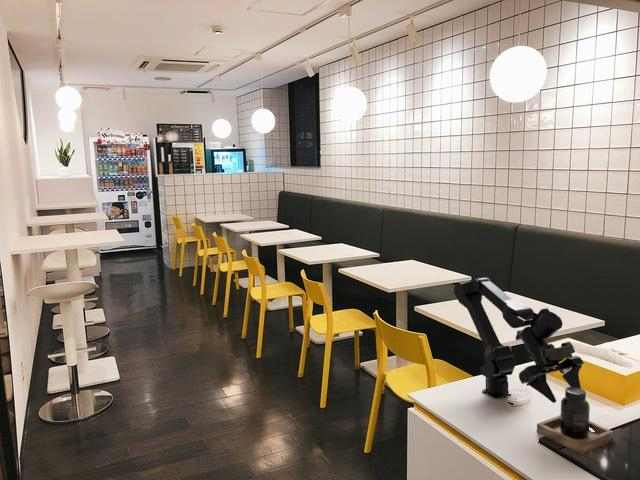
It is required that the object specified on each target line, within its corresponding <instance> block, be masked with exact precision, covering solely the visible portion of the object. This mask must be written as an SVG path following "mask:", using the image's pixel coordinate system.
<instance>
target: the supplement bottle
mask: <svg viewBox="0 0 640 480" xmlns="http://www.w3.org/2000/svg"><path fill="white" fill-rule="evenodd" d="M586 394H587V392H586V391H585V389H583V388H582V387H581V388H578V387H570V386H568V387H566V388H565V394H564V397H563V398H561V401H560V415H561V418H560V430H561V432H562V433H563V434H564V435H566V436H568V437H570V438H574V439H583V438H586V437H587V436H588V434H589V421H590V404H589V402H588V401H587V400H586V399H587V396H586Z"/></svg>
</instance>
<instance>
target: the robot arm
mask: <svg viewBox="0 0 640 480" xmlns="http://www.w3.org/2000/svg"><path fill="white" fill-rule="evenodd" d="M453 287H454V288H453V294H454V295H455V298H456V300H457V301H458V302H459V304H461V305H462V306H463V307H464V308H466V310H467V311H468V313H469V316H470V318H471V321H472V322H473V324H474V326H475V329H476V331H477V333H478V335H479V338H480V340H481V342H482V345H483V346H484V357H483V359H484V362H485V363H484V364H482V365H481V366H480V368H479V370H480V375H482V376H484V377H485V388H484V389H481V391H483V390H484V392H486V393H488V394H489V395H488V394H487V395H488V396H490V395H491V396H490V397H492V396H493V398H494V397H495V398H494V399H500V397H501V398H503V396H504V397H506V396H505V395H507V394H508V393H509V392H510V391H509V382H508V379H509V378H508V376H512V375H513V373H514V371H515V370H514V369H515V367H516V364H517V363H516V360H515V358H516V356H515V355H514V353H513V351H512V349H511V347H510V345H504V344H502V343H501V341H500V338H498V336H497V333H496V332H495V331H496V330H495V329H494V327H493V325H492V323H491V320H490V319H489V317H488V314H487V312H486V310H485V307H484V306H483V304H482V303H483V302H482V301H483V297H484V298H486V299H487V300H488V301H489V302H490V303H491V304H493V305H494V306H495V307H496V308H497V309H498V310H499V311H500V312H501V314H502V318H503V320H504V321H505V322H506V323H507V325H508V326H509V327H510V328H512V329H518V328H523V329H521V330H516V335H515V341H522V342H523V344H524V346H525V348H526V350H527V352H528V353H529V354H527V358H528V359H529V360H531V359H532V360H533V362H534V363H535V364H533V365H528V366H526V367H525V368H524V369H522V370H521V371H520V372H519V373H518V379H519V381H520V383H521V384H522V385H523V384H524V385H525V384H526V386H527V387H531V388H532V389H534V390H536V391H537V392H538V393H540V394H541V395H542V396H544V397H545V398H546V399H548V400H549V401H550V402H551V403H553V404H555V403H557V399H556V397H555V394H554V393H553V391H552V389H551V387H550V385H549V384H548V381H547V374H552V373H556V372H559V373H561V374H563V375H562V376H561V377H562V378H563V379H564V381H565V383H567V384H568V385H569V387H578V388H581V389H582V387H581V381H580V376H579V375H580V374H579V373H580V370H581V369H582V366H583V365H584V364H585V363H584V361H583V359H582V358H581V357H580V356H578V355H573V354H575V352H576V350H575V349H576V348H575V347H574V346H573V344H572V343H571V341H566V342H562V343H561V344H560V346H559V347H555V345H554V344H552V343H548V341H547V339H550V338H551V337H552V336H553V335H554V334H556V333H557V332H558V331H559V330H560V329H562V328H563V320H562V318H561V317H560V316H558V314H557V313H555V312H552V311H550V310H549V308H547V307H545V308H541V309H540V310H539V312H536V311H534V310H533V309H532V308H531V306H528V305H527V304H525V303H522V302H519V301H516V300H514V299H512V298H511V297H510V296H509V295H507V294H506V293H505V291H503V290H502V289H500V288H499V287H498V286H497V285H495V284H494V282H492V280H491V279H490V278H489V277H481V278H480V277H479V278H475V279H473V280H469V281H468V280H467V281H461V282H460V281H459V282H457V283H455V285H454V286H453ZM484 392H483V393H484ZM486 393H485V394H486ZM507 396H508V395H507Z"/></svg>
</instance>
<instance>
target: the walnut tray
mask: <svg viewBox="0 0 640 480" xmlns="http://www.w3.org/2000/svg"><path fill="white" fill-rule="evenodd" d="M560 418H561V414H560V415H557V416H554V417H551V418H549V419H547V420H544V421H540V422H538V423H536V433H537V434H539V435H541V436H543V437H545V436H548V437H549V438H552V439H553V440H555V441H557V442H559V443H560V444H562V445H563V447H564V446H565V447H564V448H566V447H567V448H566V449H568V448H569V449H568V450H570V449H571V450H570V451H572V450H573V451H572V452H574V451H575V453H576V452H577V453H576V454H578V453H579V454H578V455H580V454H581V455H584V454H585V452H586V453H588V452H590V451H593V450H595V449H597V448H599V447H598V446H600V445H602V446H604V445H606V444H605V443H607V442H609V441H611V442H613V441H614V433H615V432H614V431H613V430H611V429H608V428H606V427H604V426H602V425H600V424H597V423H595V422H593V421H591V420H589V427H590V428H592V429H593V430H594V431H595V432H590V431H589V434H588V436H587V437H586V438H583V439H574V438H570V437H568V436H566V435H564V434H563V433H562V432H561V430H560ZM549 438H548V439H549ZM553 440H552V441H553ZM612 440H613V441H612ZM555 441H554V442H555ZM557 442H556V443H557ZM559 443H558V444H559ZM609 443H610V442H609ZM560 444H559V445H560ZM603 444H604V445H603ZM607 444H608V443H607ZM562 445H561V446H562ZM596 447H597V448H596ZM600 447H601V446H600ZM594 448H595V449H594ZM592 449H593V450H592ZM587 451H588V452H587Z"/></svg>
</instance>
